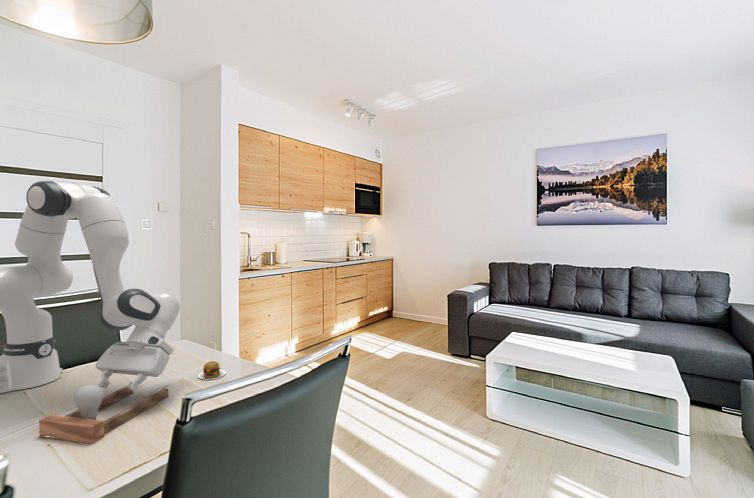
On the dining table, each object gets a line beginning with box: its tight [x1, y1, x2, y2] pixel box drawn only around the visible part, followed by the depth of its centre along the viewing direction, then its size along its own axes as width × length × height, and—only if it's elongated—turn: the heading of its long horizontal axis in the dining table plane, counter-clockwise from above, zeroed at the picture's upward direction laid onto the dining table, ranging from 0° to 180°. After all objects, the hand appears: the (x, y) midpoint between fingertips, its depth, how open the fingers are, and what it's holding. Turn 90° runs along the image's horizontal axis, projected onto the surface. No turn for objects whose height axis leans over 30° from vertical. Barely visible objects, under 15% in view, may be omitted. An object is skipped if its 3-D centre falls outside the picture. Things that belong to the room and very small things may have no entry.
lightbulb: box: [73, 384, 105, 420], centre depth 94 cm, size 6×6×11 cm
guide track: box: [38, 385, 169, 444], centre depth 100 cm, size 25×16×4 cm, turn 169°
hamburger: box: [197, 360, 227, 381], centre depth 128 cm, size 12×12×6 cm
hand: (116, 388), depth 102 cm, fingers open, 8 cm apart
